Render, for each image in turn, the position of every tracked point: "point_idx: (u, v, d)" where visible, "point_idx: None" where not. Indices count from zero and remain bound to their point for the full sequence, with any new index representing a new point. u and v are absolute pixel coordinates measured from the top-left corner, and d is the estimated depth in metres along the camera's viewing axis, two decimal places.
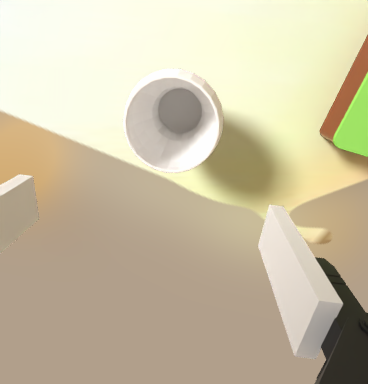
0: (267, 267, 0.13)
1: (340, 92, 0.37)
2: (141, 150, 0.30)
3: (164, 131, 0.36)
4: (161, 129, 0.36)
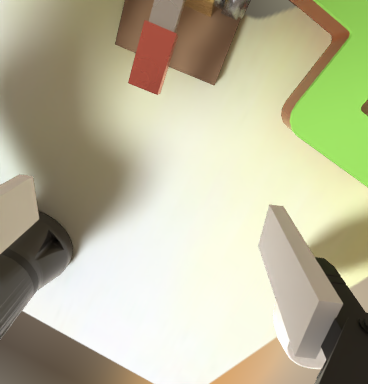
0: (267, 267, 0.13)
1: None
2: (321, 348, 0.40)
3: None
4: None
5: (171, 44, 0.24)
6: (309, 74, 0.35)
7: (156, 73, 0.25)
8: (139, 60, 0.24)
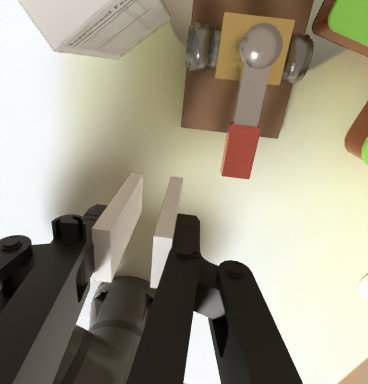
0: None
1: None
2: None
3: None
4: None
5: (257, 137, 0.26)
6: None
7: (246, 162, 0.28)
8: (229, 156, 0.27)
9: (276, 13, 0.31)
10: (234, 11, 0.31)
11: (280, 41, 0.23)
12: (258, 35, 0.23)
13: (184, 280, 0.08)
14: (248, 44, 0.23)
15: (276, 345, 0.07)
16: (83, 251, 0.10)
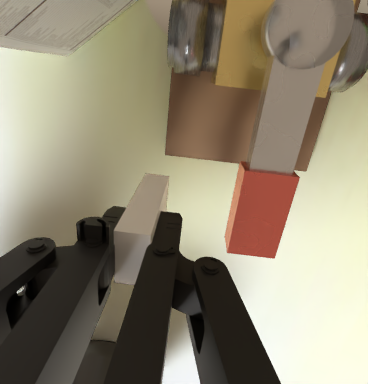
0: None
1: None
2: None
3: None
4: None
5: (292, 193, 0.15)
6: None
7: (271, 232, 0.16)
8: (241, 222, 0.16)
9: None
10: None
11: (349, 13, 0.11)
12: (305, 0, 0.11)
13: (162, 277, 0.09)
14: (283, 19, 0.11)
15: (250, 337, 0.07)
16: (105, 254, 0.09)
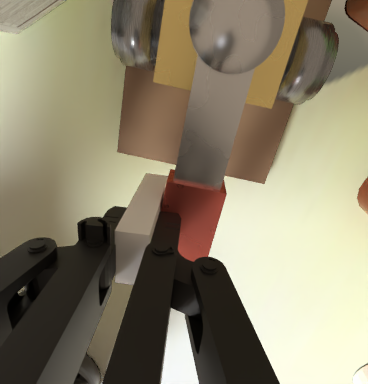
0: None
1: None
2: None
3: None
4: None
5: (218, 210, 0.13)
6: None
7: (197, 250, 0.14)
8: None
9: None
10: None
11: (279, 15, 0.10)
12: None
13: (161, 276, 0.09)
14: (206, 13, 0.10)
15: (249, 337, 0.07)
16: (107, 254, 0.09)
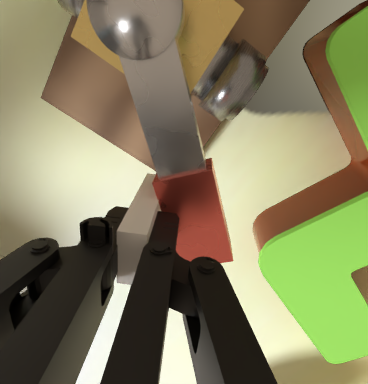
0: None
1: None
2: None
3: None
4: None
5: (213, 189, 0.13)
6: (306, 194, 0.25)
7: (215, 236, 0.14)
8: (178, 235, 0.14)
9: (242, 0, 0.19)
10: None
11: None
12: None
13: (159, 276, 0.09)
14: (104, 14, 0.10)
15: (246, 337, 0.07)
16: (109, 255, 0.09)
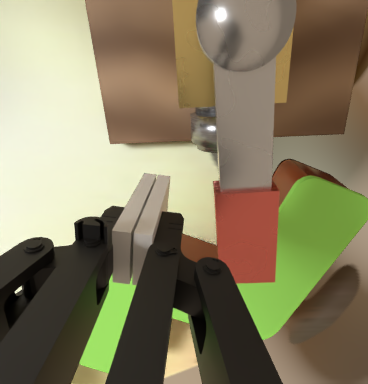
0: None
1: None
2: None
3: None
4: None
5: (275, 209, 0.12)
6: (187, 240, 0.28)
7: (263, 255, 0.14)
8: (227, 250, 0.14)
9: None
10: None
11: None
12: None
13: (164, 277, 0.09)
14: (212, 20, 0.10)
15: (252, 338, 0.07)
16: (104, 254, 0.09)
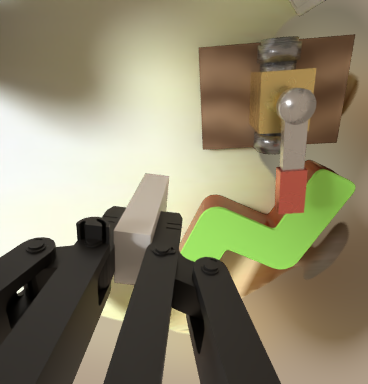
0: None
1: (182, 240, 0.49)
2: None
3: None
4: None
5: (305, 178, 0.30)
6: (243, 207, 0.45)
7: (299, 199, 0.31)
8: (283, 197, 0.31)
9: None
10: None
11: (313, 100, 0.27)
12: (293, 99, 0.27)
13: (162, 276, 0.09)
14: (286, 107, 0.27)
15: (250, 337, 0.07)
16: (106, 254, 0.09)
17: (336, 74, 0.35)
